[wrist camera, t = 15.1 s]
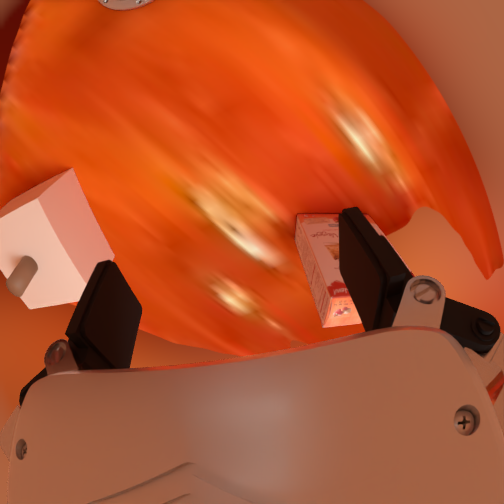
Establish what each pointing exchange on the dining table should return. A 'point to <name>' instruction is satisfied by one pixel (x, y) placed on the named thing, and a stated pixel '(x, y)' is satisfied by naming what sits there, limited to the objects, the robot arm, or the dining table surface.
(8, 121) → the dining table surface
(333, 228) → the cracker box
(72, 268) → the cover
